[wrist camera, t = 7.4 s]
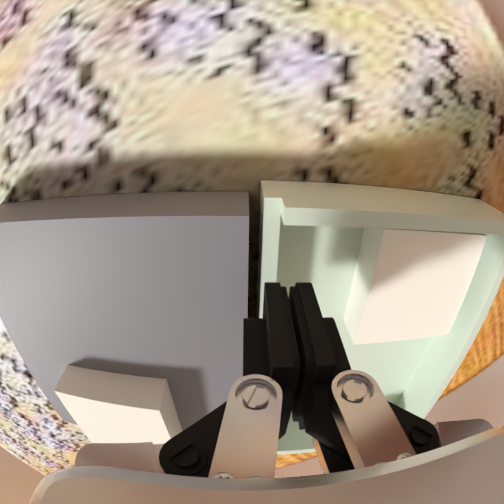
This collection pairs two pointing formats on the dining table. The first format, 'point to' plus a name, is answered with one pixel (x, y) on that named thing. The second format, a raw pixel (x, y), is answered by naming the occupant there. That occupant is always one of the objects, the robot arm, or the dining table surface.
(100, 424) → the tile
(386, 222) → the box
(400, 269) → the tile
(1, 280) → the board
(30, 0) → the dining table surface
